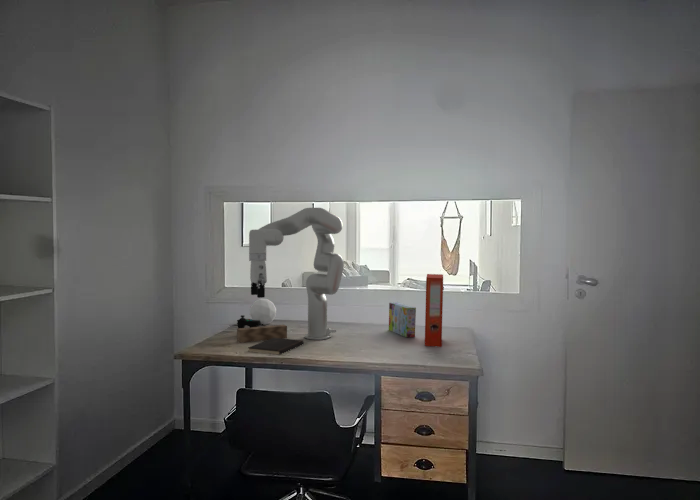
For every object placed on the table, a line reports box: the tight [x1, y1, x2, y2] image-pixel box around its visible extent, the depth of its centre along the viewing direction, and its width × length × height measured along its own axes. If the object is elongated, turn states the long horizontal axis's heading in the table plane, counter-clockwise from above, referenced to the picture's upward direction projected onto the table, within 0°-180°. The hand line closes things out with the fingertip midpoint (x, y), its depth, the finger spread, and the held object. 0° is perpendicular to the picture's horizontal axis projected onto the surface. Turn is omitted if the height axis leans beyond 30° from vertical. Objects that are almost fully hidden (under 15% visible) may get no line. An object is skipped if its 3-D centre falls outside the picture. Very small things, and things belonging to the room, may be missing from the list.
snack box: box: [388, 301, 417, 338], centre depth 301 cm, size 21×6×15 cm, turn 22°
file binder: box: [424, 273, 444, 348], centre depth 279 cm, size 8×17×32 cm, turn 171°
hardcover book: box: [247, 338, 304, 356], centre depth 267 cm, size 16×23×2 cm
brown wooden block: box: [236, 324, 288, 344], centre depth 284 cm, size 24×4×6 cm, turn 118°
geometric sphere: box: [249, 298, 277, 326], centre depth 324 cm, size 14×15×15 cm
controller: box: [236, 315, 262, 329], centre depth 293 cm, size 4×12×10 cm, turn 76°
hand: (257, 296), depth 259 cm, fingers open, 9 cm apart
